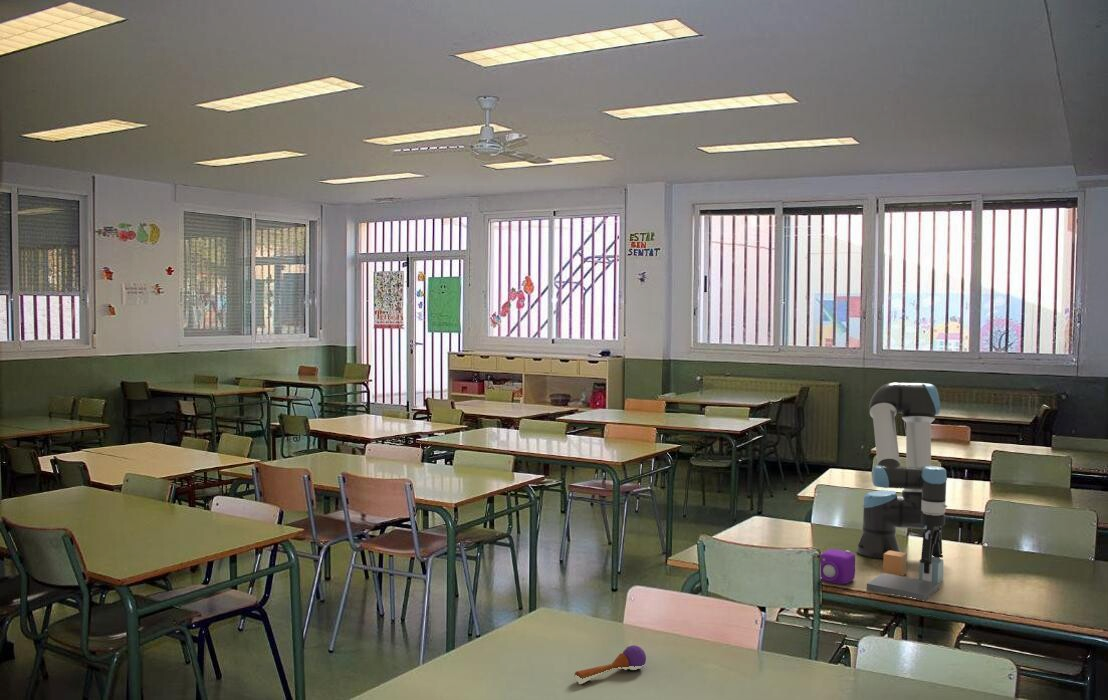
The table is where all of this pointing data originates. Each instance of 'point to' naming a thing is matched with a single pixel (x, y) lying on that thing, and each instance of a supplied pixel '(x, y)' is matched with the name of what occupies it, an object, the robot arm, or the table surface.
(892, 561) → the orange brick
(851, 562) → the toy camera
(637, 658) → the purple and brown microphone
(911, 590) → the base plate
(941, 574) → the teal brick
